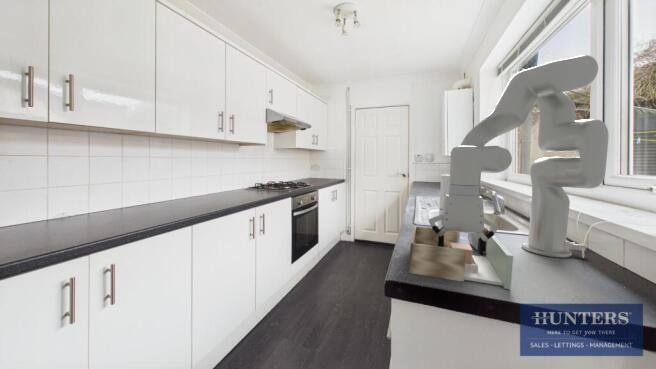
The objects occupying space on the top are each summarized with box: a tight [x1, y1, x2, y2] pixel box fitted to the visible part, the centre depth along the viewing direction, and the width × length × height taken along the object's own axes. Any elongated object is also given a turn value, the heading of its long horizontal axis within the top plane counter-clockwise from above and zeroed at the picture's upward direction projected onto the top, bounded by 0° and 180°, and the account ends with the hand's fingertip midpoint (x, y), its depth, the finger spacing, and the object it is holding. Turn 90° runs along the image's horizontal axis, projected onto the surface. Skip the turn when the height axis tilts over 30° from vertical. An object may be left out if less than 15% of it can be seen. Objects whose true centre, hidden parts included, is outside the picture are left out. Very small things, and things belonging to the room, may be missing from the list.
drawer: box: [464, 234, 514, 290], centre depth 70 cm, size 13×21×8 cm, turn 158°
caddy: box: [409, 226, 466, 282], centre depth 74 cm, size 13×20×8 cm, turn 158°
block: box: [450, 242, 473, 264], centre depth 71 cm, size 5×5×5 cm
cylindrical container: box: [437, 174, 461, 244], centre depth 92 cm, size 7×7×25 cm
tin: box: [467, 226, 490, 255], centre depth 86 cm, size 15×3×8 cm, turn 168°
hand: (460, 251), depth 71 cm, fingers open, 9 cm apart
